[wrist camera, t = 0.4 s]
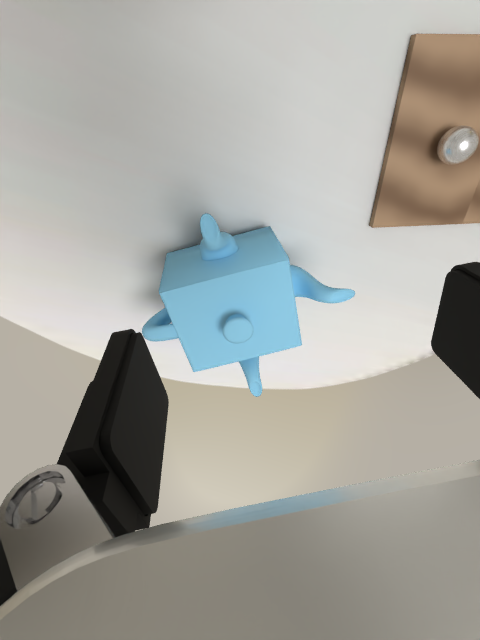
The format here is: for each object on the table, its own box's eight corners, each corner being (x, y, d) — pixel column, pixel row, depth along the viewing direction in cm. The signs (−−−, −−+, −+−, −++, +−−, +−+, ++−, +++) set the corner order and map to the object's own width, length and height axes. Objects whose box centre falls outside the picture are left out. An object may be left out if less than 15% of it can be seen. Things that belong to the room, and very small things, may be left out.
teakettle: (143, 295, 47) (124, 361, 35) (203, 177, 39) (205, 210, 27) (250, 341, 54) (265, 409, 42) (320, 249, 46) (363, 301, 34)
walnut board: (411, 35, 33) (416, 33, 32) (599, 37, 35) (609, 35, 34) (369, 225, 44) (372, 227, 44) (513, 219, 46) (519, 221, 46)
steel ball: (436, 124, 37) (459, 126, 34) (467, 124, 38) (493, 125, 34) (425, 162, 40) (445, 167, 36) (455, 161, 40) (478, 166, 37)
